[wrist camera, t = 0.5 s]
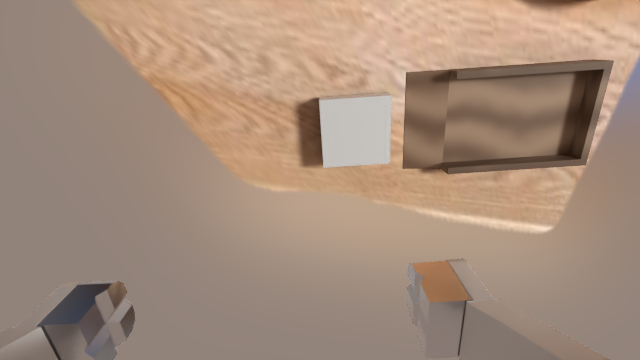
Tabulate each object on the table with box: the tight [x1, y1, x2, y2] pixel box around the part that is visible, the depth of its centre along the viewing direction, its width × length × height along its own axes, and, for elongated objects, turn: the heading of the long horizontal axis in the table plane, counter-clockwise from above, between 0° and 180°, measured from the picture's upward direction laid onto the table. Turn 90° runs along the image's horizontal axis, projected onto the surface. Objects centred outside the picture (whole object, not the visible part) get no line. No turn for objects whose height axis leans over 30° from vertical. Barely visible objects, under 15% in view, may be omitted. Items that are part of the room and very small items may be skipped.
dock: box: [403, 60, 614, 174], centre depth 48 cm, size 15×27×4 cm, turn 94°
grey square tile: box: [319, 92, 391, 168], centre depth 48 cm, size 10×10×4 cm
